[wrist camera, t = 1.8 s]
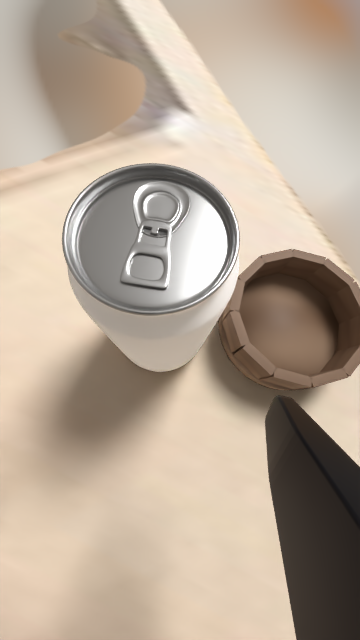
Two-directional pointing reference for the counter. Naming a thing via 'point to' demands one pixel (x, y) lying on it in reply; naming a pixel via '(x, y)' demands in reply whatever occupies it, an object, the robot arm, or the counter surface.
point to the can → (152, 260)
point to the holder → (293, 321)
